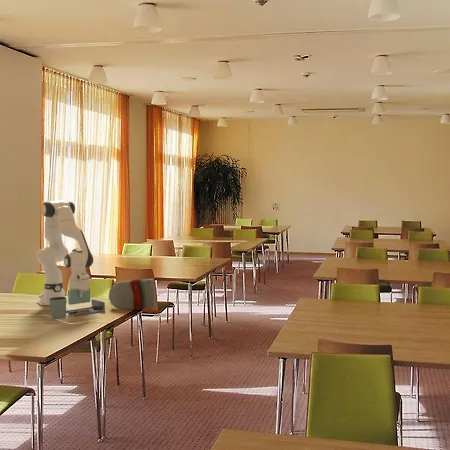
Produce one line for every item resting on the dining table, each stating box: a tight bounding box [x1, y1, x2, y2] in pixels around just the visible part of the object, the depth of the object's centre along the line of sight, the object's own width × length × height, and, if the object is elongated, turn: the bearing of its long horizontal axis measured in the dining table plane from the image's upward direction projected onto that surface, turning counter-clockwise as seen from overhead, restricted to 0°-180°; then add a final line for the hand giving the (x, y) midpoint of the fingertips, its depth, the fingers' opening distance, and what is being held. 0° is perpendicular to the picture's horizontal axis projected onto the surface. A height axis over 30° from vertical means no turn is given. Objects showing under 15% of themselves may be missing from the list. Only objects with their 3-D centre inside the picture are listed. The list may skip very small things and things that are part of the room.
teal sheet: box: [67, 287, 91, 306], centre depth 415 cm, size 2×14×9 cm, turn 130°
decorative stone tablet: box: [108, 278, 157, 311], centre depth 424 cm, size 19×6×30 cm
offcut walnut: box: [77, 309, 95, 313], centre depth 411 cm, size 4×10×2 cm, turn 112°
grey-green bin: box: [49, 296, 67, 320], centre depth 402 cm, size 10×10×12 cm
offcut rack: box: [66, 298, 106, 317], centre depth 413 cm, size 15×20×7 cm
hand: (79, 296), depth 415 cm, fingers closed on teal sheet, 2 cm apart
